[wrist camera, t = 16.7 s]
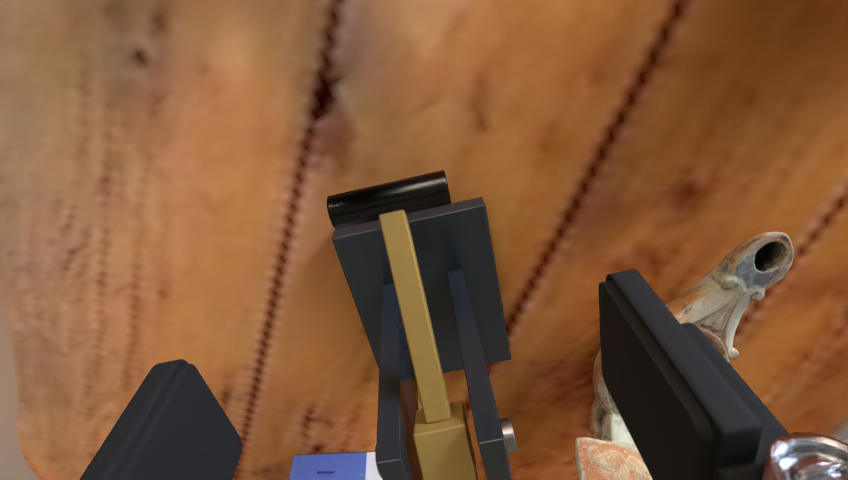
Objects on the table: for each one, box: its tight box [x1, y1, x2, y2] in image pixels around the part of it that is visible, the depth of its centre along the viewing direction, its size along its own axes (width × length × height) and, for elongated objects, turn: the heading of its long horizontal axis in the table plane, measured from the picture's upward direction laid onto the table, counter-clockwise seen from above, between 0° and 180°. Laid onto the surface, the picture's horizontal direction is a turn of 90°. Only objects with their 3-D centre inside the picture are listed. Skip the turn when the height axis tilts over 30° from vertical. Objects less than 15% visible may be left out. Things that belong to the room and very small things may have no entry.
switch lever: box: [327, 170, 478, 480], centre depth 20 cm, size 13×5×2 cm, turn 11°
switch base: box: [332, 197, 517, 480], centre depth 24 cm, size 12×9×13 cm
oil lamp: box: [575, 232, 793, 480], centre depth 29 cm, size 9×21×10 cm, turn 153°
